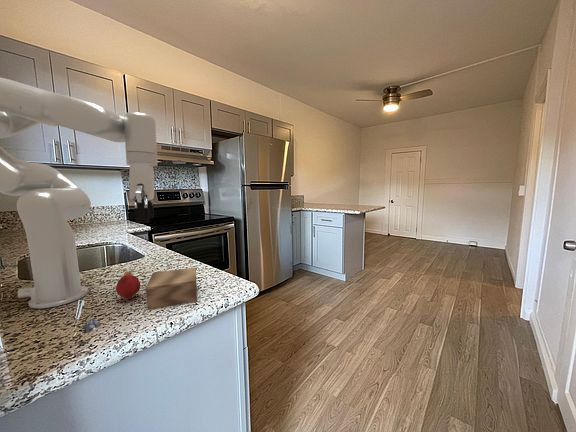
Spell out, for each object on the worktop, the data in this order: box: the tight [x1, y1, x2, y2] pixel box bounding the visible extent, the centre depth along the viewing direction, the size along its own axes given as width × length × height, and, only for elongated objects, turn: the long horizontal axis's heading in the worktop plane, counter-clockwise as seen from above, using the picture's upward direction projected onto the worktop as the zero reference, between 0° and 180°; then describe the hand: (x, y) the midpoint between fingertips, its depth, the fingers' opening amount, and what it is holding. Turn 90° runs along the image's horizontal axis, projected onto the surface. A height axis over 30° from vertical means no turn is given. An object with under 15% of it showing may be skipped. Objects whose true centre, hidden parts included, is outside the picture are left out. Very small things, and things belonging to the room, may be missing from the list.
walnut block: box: [145, 266, 198, 311], centre depth 71 cm, size 12×12×6 cm
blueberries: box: [71, 319, 101, 334], centre depth 56 cm, size 7×8×2 cm
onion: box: [115, 271, 141, 300], centre depth 69 cm, size 6×6×8 cm
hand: (145, 220), depth 71 cm, fingers open, 9 cm apart
